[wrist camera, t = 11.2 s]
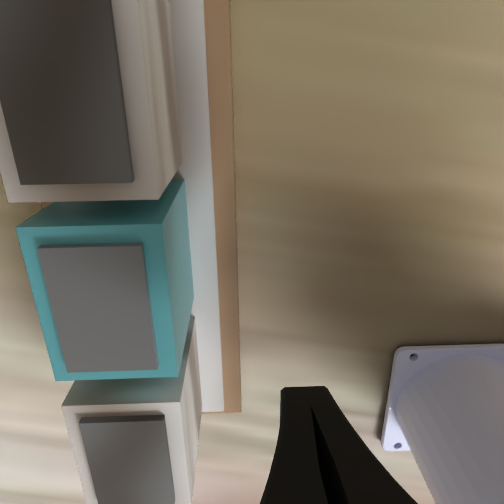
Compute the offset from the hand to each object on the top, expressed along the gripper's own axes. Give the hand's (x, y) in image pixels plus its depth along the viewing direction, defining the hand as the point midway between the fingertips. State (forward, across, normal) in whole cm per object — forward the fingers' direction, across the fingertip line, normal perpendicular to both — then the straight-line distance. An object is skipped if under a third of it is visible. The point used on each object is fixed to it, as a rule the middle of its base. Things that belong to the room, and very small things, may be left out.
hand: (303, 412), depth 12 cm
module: (+9, +6, -2) cm, 11 cm away
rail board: (+10, +6, -2) cm, 12 cm away
